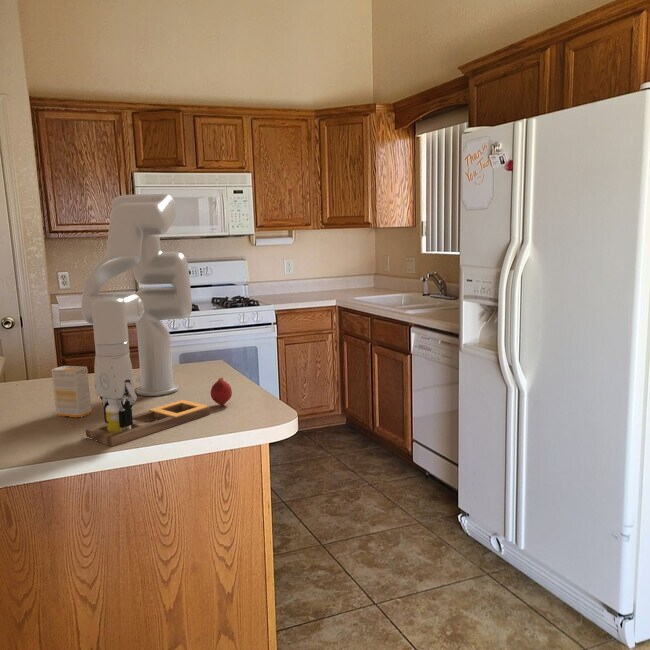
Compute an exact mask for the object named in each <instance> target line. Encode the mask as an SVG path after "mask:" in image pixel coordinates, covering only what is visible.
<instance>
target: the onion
mask: <svg viewBox="0 0 650 650" xmlns="http://www.w3.org/2000/svg"><path fill="white" fill-rule="evenodd" d="M232 391H233V390H232V387H231V385H230V384H229V383H228V382H227V381H225V380H224V378H223V377H219V378H218V380H217V381H216V382H215V383H213V384H212V386H211V389H210V396H211V397H210V398H211V399H212V400H213V401H214V403H216V404H217V405H220V406H221V405H222V406H224V405H226V403H227V402H229V400H230V399H231V398H232V397H233V396H232V395H233V392H232Z"/></svg>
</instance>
